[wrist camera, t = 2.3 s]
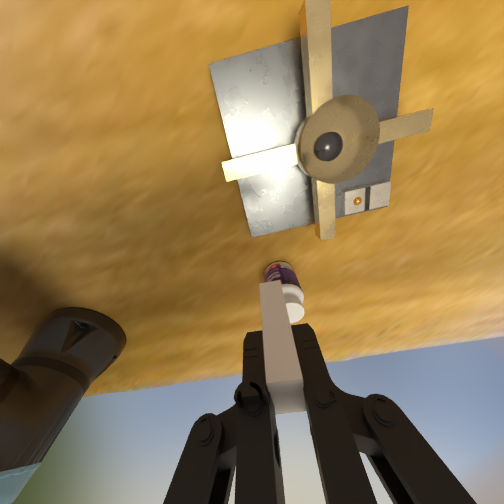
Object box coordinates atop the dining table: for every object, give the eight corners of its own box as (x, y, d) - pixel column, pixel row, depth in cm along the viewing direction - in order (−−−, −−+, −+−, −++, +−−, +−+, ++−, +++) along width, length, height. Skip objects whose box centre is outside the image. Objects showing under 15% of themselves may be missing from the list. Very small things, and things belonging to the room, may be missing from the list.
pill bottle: (271, 256, 33) (281, 294, 25) (298, 266, 35) (317, 305, 26) (258, 280, 36) (264, 322, 27) (284, 288, 37) (297, 331, 28)
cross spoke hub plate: (251, 232, 31) (252, 241, 28) (211, 70, 22) (206, 58, 19) (378, 203, 30) (393, 209, 27) (394, 17, 20) (420, -5, 17)
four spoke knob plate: (247, 246, 29) (247, 262, 25) (194, 50, 19) (181, 24, 15) (397, 213, 28) (423, 224, 24) (428, -20, 17) (483, -70, 13)
